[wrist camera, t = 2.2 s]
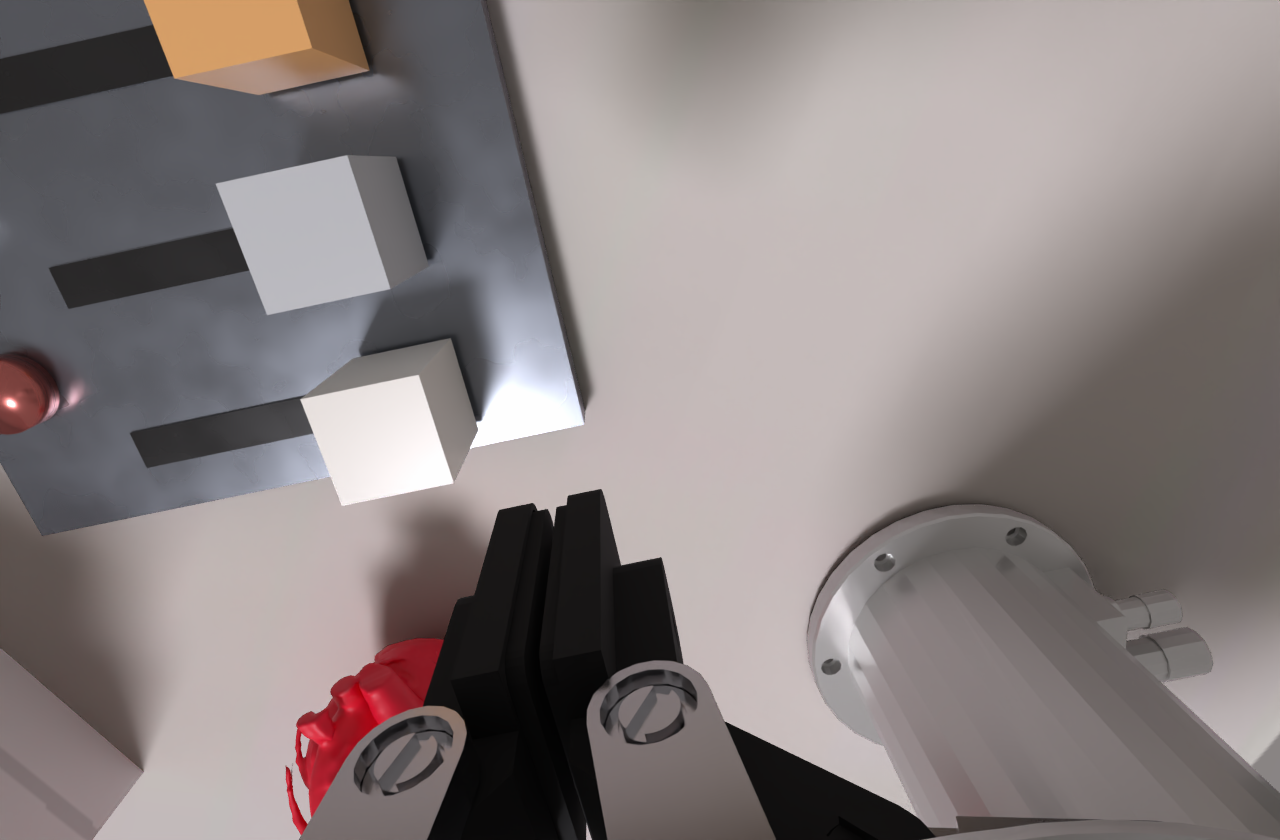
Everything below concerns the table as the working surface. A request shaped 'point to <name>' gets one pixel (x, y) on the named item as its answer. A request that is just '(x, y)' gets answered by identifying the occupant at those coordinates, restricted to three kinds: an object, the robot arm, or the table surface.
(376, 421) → the ivory slider
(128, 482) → the panel
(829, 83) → the table surface
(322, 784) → the heart organ
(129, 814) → the table surface
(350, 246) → the grey slider
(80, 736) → the pizza boxes
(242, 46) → the orange slider
